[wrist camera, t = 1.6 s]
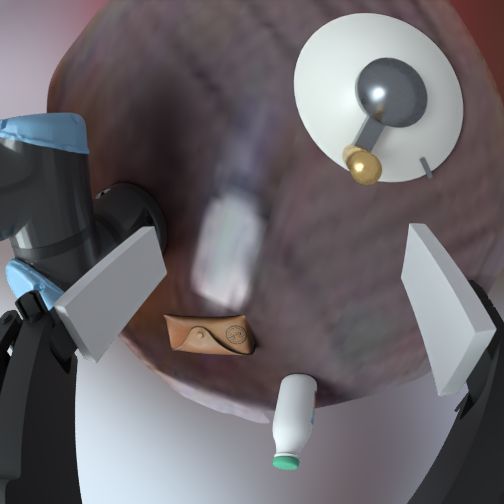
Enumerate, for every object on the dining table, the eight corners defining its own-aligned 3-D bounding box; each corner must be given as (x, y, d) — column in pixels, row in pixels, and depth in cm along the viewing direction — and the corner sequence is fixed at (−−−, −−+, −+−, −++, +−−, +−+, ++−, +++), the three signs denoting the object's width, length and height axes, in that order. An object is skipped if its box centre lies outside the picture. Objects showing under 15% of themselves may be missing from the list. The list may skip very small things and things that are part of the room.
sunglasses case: (246, 313, 47) (242, 350, 43) (257, 324, 52) (255, 358, 49) (160, 313, 52) (155, 345, 48) (178, 324, 58) (174, 353, 54)
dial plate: (266, 127, 32) (263, 127, 30) (335, -9, 20) (335, -14, 19) (412, 209, 32) (415, 213, 31) (477, 82, 21) (483, 82, 19)
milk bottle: (274, 381, 55) (254, 463, 38) (299, 367, 51) (284, 458, 34) (299, 395, 56) (285, 473, 39) (324, 383, 52) (316, 468, 35)
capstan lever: (370, 50, 22) (386, 32, 16) (427, 87, 23) (457, 82, 16) (319, 150, 30) (320, 161, 23) (376, 183, 30) (393, 204, 23)
